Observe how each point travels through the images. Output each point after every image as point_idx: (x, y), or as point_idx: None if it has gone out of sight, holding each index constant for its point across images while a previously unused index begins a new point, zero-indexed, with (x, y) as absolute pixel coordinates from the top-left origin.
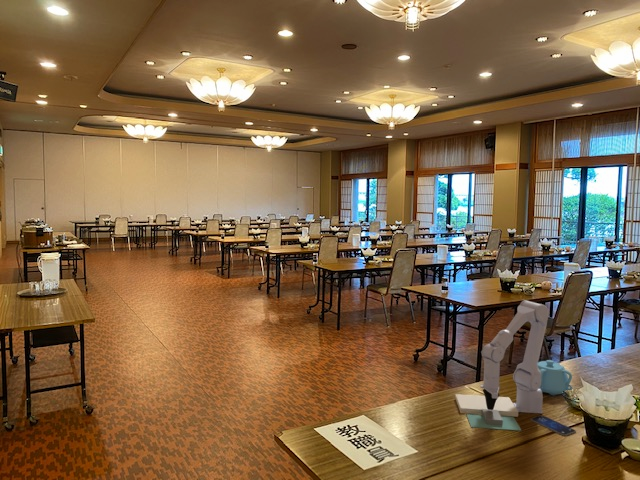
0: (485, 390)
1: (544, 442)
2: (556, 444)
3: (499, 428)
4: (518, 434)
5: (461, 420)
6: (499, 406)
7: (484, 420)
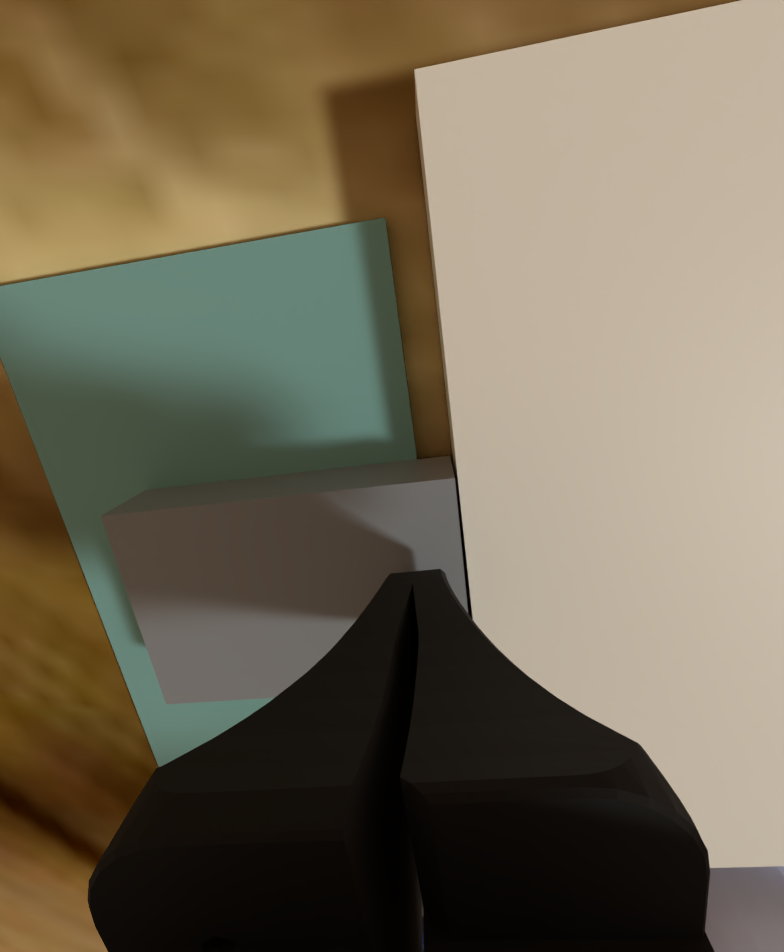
0: (540, 884)
1: (51, 890)
2: (63, 945)
3: (104, 620)
4: (90, 754)
5: (143, 138)
6: (628, 717)
7: (242, 479)
